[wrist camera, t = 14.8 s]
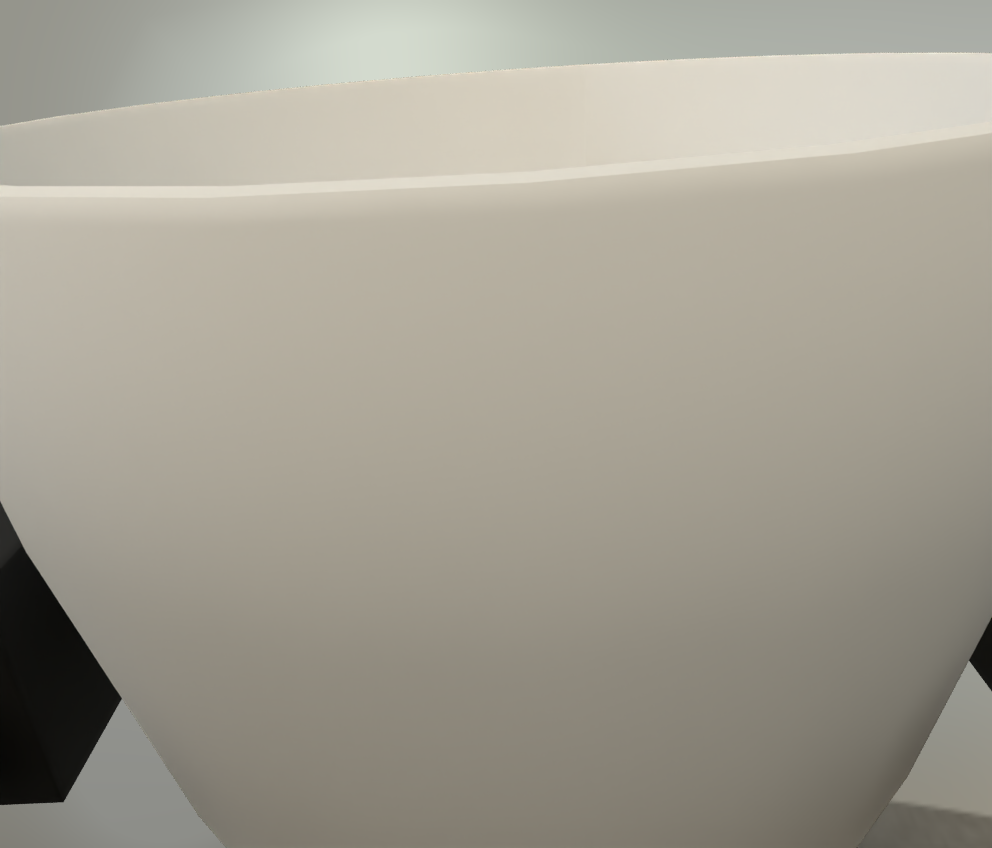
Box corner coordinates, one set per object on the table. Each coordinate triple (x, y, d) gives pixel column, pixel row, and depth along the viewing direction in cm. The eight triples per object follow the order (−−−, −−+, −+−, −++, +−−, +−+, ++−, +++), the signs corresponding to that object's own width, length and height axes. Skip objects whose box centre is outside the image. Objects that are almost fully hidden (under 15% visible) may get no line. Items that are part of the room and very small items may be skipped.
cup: (61, 1311, 10) (-618, 216, 5) (375, 706, 20) (272, 82, 14) (1005, 1668, 8) (2038, 155, 2) (860, 775, 17) (979, 39, 11)
